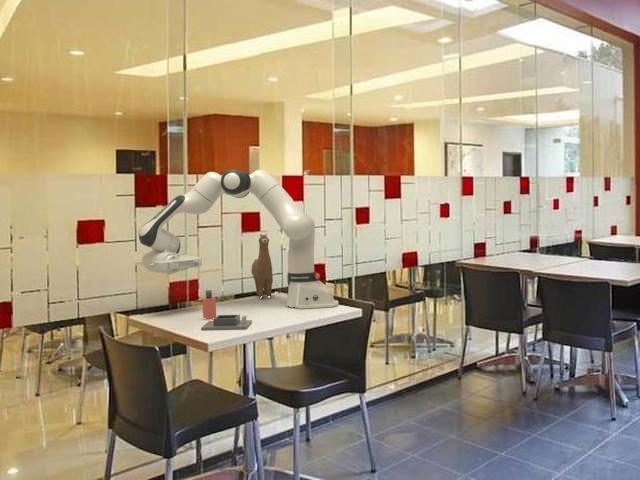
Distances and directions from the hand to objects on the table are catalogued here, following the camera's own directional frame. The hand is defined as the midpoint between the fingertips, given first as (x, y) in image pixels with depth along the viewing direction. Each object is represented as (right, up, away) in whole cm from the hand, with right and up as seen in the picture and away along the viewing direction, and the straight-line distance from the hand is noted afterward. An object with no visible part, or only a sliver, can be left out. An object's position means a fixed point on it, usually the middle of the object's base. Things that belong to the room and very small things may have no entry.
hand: (188, 265), depth 245 cm
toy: (+26, -17, +43) cm, 53 cm away
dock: (+19, -21, -23) cm, 37 cm away
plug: (+10, -20, -7) cm, 24 cm away
